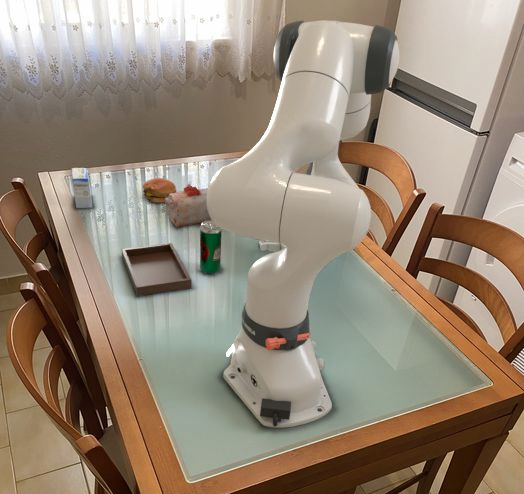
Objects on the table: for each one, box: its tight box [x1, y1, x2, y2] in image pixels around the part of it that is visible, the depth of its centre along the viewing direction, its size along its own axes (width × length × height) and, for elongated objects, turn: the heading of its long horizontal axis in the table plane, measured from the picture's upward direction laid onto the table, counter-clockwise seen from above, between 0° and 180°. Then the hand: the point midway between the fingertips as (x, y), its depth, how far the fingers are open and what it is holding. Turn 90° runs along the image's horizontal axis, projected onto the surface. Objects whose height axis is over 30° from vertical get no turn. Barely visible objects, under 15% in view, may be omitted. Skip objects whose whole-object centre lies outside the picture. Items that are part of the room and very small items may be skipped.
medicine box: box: [70, 167, 93, 209], centre depth 150 cm, size 8×4×9 cm, turn 17°
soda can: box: [199, 221, 223, 275], centre depth 126 cm, size 5×5×12 cm
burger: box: [142, 177, 177, 204], centre depth 158 cm, size 10×9×5 cm
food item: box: [165, 183, 212, 228], centre depth 146 cm, size 14×8×10 cm, turn 117°
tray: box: [121, 242, 192, 297], centre depth 127 cm, size 18×13×2 cm
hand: (252, 237), depth 129 cm, fingers open, 8 cm apart
